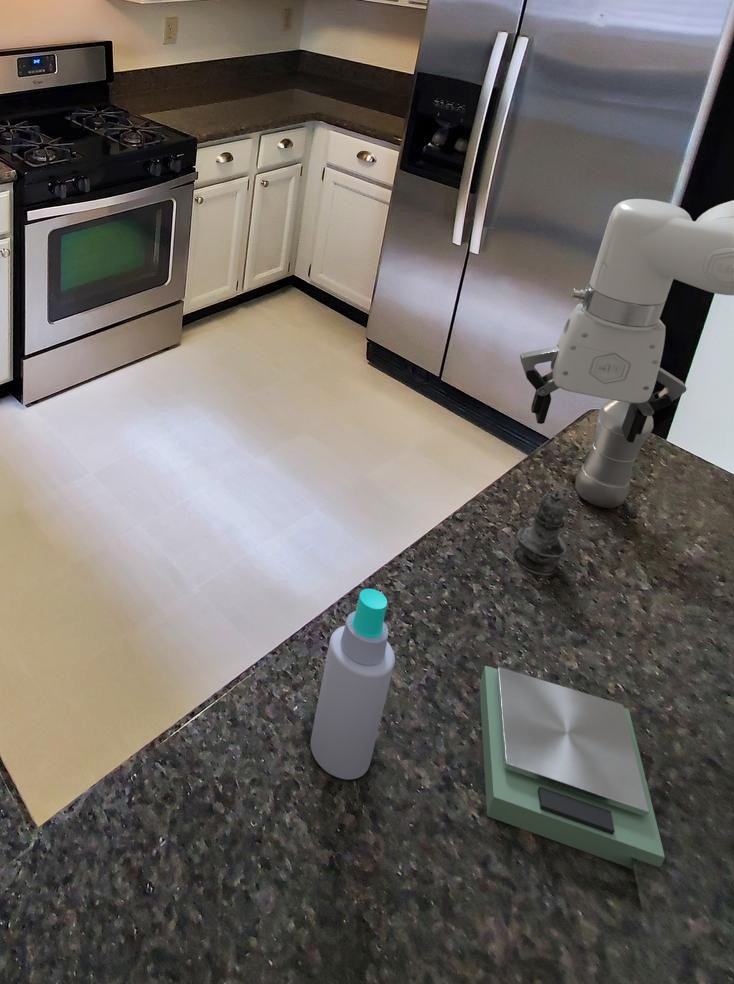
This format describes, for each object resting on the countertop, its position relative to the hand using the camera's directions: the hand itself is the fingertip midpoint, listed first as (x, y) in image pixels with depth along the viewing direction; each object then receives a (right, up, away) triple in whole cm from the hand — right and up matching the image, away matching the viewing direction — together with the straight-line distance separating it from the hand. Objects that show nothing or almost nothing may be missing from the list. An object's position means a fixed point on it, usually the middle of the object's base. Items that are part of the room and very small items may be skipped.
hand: (582, 427), depth 100 cm
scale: (-14, -32, -18) cm, 39 cm away
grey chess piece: (-1, -20, +9) cm, 22 cm away
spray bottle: (-36, -31, -16) cm, 50 cm away
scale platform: (-13, -28, -18) cm, 36 cm away
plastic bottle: (+16, -15, +21) cm, 30 cm away
